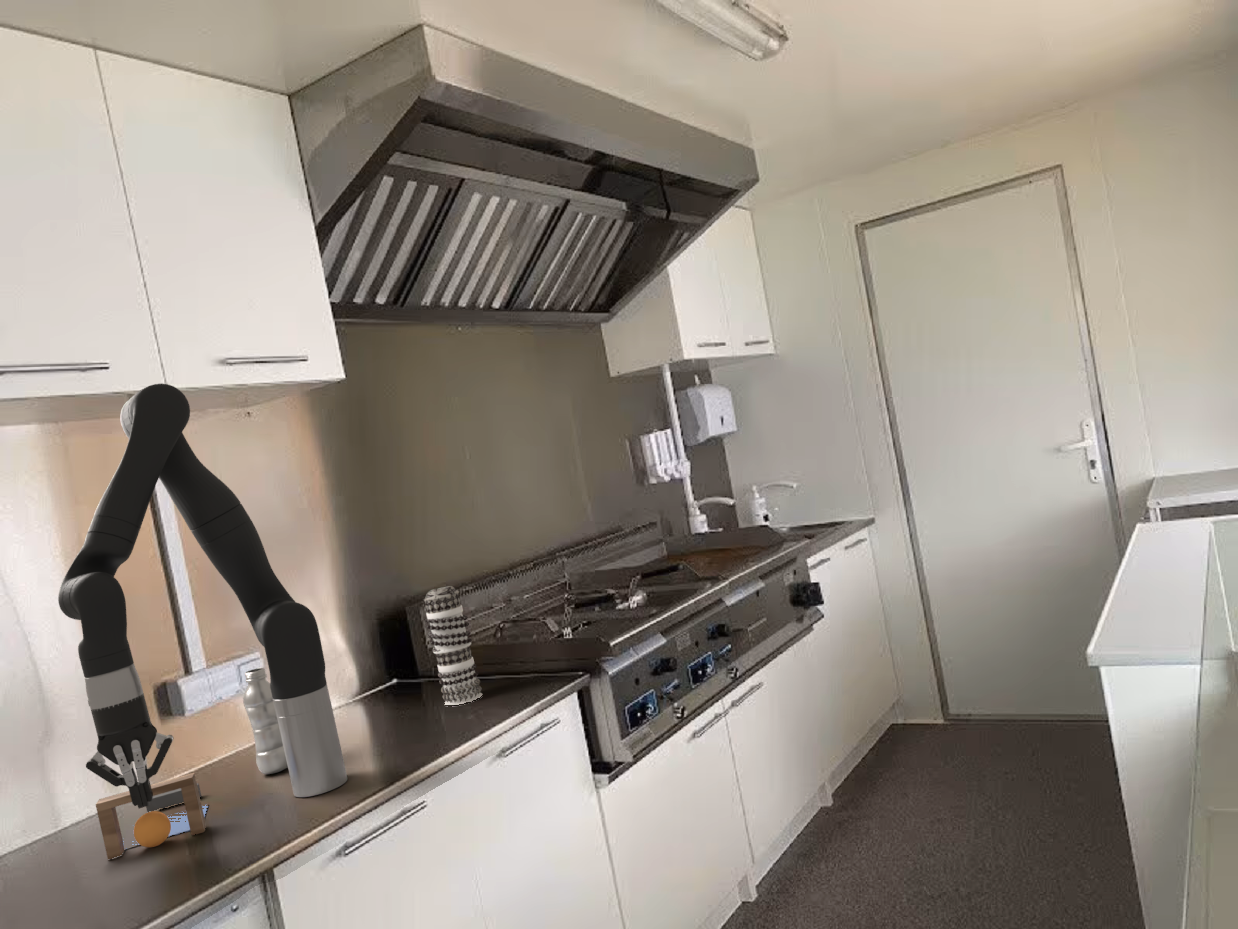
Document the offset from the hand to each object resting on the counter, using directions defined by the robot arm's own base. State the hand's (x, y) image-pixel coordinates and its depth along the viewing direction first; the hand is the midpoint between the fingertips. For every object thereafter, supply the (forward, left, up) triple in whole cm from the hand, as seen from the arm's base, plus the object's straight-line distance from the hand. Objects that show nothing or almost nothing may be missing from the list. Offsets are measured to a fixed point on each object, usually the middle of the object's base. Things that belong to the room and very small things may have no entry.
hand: (144, 805), depth 155 cm
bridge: (-7, -1, -8) cm, 11 cm away
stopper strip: (-29, -1, -8) cm, 30 cm away
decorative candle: (-48, +56, -9) cm, 74 cm away
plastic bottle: (-32, +17, -8) cm, 37 cm away
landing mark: (-15, -1, -8) cm, 17 cm away
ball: (-6, -1, -6) cm, 8 cm away
